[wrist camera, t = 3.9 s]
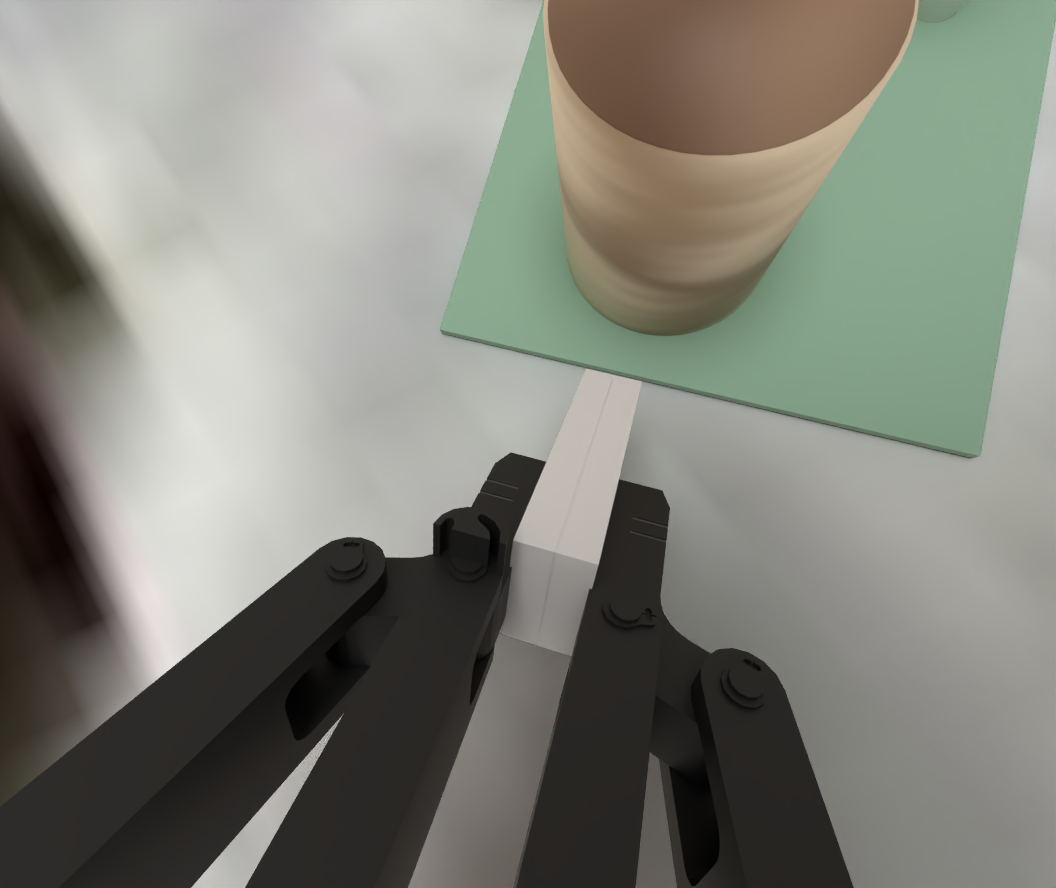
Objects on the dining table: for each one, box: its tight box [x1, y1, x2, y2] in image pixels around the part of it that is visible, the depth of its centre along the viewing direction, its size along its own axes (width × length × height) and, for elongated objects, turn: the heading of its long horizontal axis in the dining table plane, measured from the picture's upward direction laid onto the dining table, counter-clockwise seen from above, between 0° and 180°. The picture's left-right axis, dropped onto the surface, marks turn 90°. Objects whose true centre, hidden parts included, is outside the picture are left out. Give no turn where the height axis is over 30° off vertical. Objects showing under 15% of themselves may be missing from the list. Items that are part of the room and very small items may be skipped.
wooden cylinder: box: [543, 0, 919, 336], centre depth 15 cm, size 7×7×9 cm
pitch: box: [440, 0, 1056, 458], centre depth 20 cm, size 18×22×1 cm
